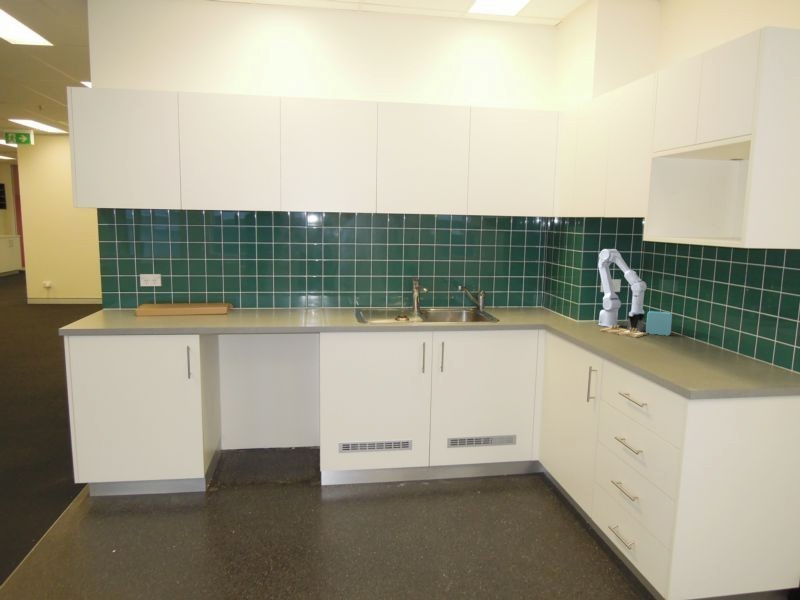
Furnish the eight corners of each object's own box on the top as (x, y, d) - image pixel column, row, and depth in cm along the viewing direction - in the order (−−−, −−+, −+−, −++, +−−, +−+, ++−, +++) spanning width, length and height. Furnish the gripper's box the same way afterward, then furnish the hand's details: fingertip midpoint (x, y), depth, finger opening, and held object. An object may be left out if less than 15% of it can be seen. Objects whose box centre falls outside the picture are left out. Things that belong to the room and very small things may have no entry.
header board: (599, 331, 297) (600, 325, 296) (611, 328, 305) (611, 322, 305) (635, 337, 282) (636, 331, 281) (647, 334, 291) (647, 328, 290)
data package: (670, 334, 292) (672, 312, 291) (670, 336, 288) (672, 313, 286) (645, 332, 297) (647, 310, 295) (645, 333, 293) (647, 311, 291)
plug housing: (627, 329, 302) (628, 319, 301) (630, 329, 305) (631, 318, 304) (639, 332, 297) (640, 321, 296) (642, 331, 299) (643, 320, 299)
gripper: (638, 305, 291) (636, 330, 293) (650, 303, 300) (648, 327, 302) (625, 303, 296) (623, 328, 298) (637, 301, 306) (635, 325, 308)
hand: (635, 327), depth 301 cm, fingers closed on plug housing, 4 cm apart
